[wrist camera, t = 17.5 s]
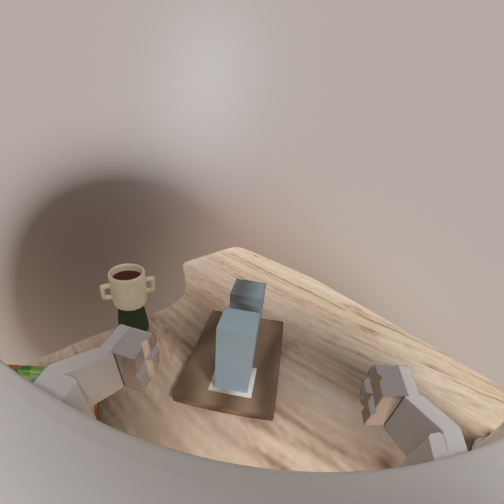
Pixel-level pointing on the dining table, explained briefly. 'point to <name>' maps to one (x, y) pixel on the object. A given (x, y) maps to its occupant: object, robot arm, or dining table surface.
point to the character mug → (129, 294)
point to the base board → (263, 370)
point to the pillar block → (235, 349)
